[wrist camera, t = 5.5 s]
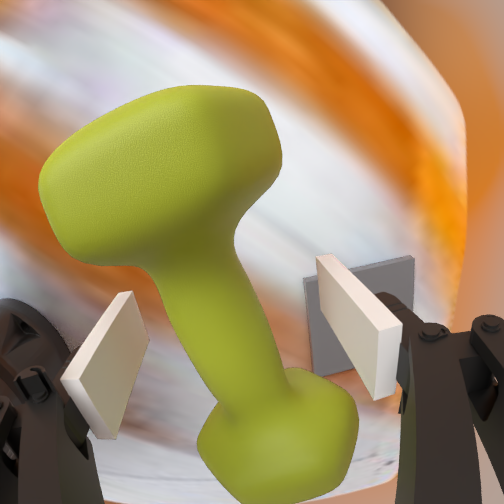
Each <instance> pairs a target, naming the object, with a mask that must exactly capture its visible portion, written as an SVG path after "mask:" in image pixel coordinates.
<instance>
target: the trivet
mask: <svg viewBox="0 0 504 504" xmlns="http://www.w3.org/2000/svg"><path fill="white" fill-rule="evenodd" d="M414 262H415V258H413V257H412V256H410V255H409V256H405V257H400V258H396V259H392V260H387V261H383V262H378V263H374V264H369V265H365V266H360V267H355V268H351V269H348V270H349V271H350V272H351V273H352V274H353V275H354V276H355V277H356V278H357V279H358V280H359V281H360V282H361V283H362V284H364V285H365V286H366V287H367V288H368V289H369V290H370V291H371V292H372V293H373V294H376V293H380V292H387V293H389V294H392V295H394V296H396V297H397V298H398V299H399V300H400V301H401V302H402V303H403V304H405V305H406V306H407V308H409V309H410V310H411V311H413V294H414ZM303 282H304V290H305V299H306V308H307V317H308V327H309V337H310V348H311V358H312V370H313V373H314V374H316V375H319V376H321V377H322V376H326V375H330V374H334V373H338V372H342V371H346V370H349V369H353V368H355V367H354V365H353V363H352V362H351V360H350V358H349V357H348V355H347V353H346V351H345V350H344V348H343V346H342V345H341V343H340V341H339V340H338V338H337V336H336V334H335V333H334V331H333V329H332V328H331V326H330V324H329V323H328V321H327V319H326V318H325V316H324V314H323V313H322V311H321V307H320V296H319V285H318V275H317V276H312V277H307V278H303Z"/></svg>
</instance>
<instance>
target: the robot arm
mask: <svg viewBox="0 0 504 504" xmlns="http://www.w3.org/2000/svg"><path fill="white" fill-rule="evenodd" d="M316 265H317V275H318V285H319V296H320V307H321V311H322V313H323V314H324V316H325V318H326V319H327V321H328V323H329V324H330V326H331V328H332V329H333V331H334V333H335V334H336V336H337V338H338V340H339V341H340V343H341V345H342V346H343V348H344V350H345V351H346V353H347V355H348V357H349V358H350V360H351V362H352V363H353V365H354V367H355V369H356V370H357V372H358V374H359V376H360V377H361V379H362V381H363V383H364V384H365V386H366V388H367V390H368V391H369V393H370V395H371V397H372V398H373V400H374V401H375V400H378V399H381V398H384V397H387V396H389V395H392V394H395V390H396V383H397V381H398V383H399V384H400V386H401V387H402V389H403V390H402V396H401V401H400V407H399V412H398V414H401V435H400V455H399V469H398V481H397V491H396V499H395V504H482V496H481V481H480V471H479V460H478V452H477V446H476V438H475V432H474V426H475V428H476V430H477V432H478V435H479V437H480V439H481V441H482V443H483V445H484V448H485V450H486V452H487V454H488V457H489V459H490V461H491V464H492V466H493V469H494V471H495V473H496V476H497V478H498V481H499V483H500V486H501V489H502V491H503V494H504V320H503V319H502V318H500V317H497V316H495V315H481V316H479V317H477V318H475V319H474V321H473V323H472V328H471V331H467V332H460V333H451V332H450V331H449V329H448V328H446V327H445V326H443V325H440V324H437V323H424V322H423V321H422V320H421V319H420V318H419V317H418V316H417V315H415V314H414V313H413V312H412V311H411V310H410V309H409V308H407V306H406V305H405V304H403V303H402V302H401V301H400V300H399V299H398V298H397V297H396V296H394V295H392V294H389V293H387V292H380V293H376V294H373V293H372V292H371V291H370V290H369V289H368V288H367V287H366V286H365V285H364V284H362V283H361V282H360V281H359V280H358V279H357V278H356V277H355V276H354V275H353V274H352V273H351V272H350V271H349V270H348V269H347V268H346V267H345V266H344V265H343V264H342V263H341V262H340V261H339V260H338V259H337V258H336V257H335V256H333V255H332V254H327V255H322V256H316ZM149 341H150V339H149V337H148V334H147V331H146V328H145V326H144V323H143V320H142V317H141V314H140V311H139V308H138V305H137V302H136V299H135V296H134V293H133V291H127V292H121V293H118V294H117V296H116V297H115V298H114V300H113V301H112V303H111V304H110V305H109V307H108V308H107V310H106V311H105V312H104V314H103V315H102V317H101V318H100V319H99V321H98V322H97V324H96V325H95V327H94V328H93V330H92V331H91V333H90V334H89V335H88V337H87V338H86V340H85V341H84V343H83V344H82V346H79V347H78V348H76V349H75V350H74V351H73V352H72V353H71V354H70V353H69V350H68V348H67V346H66V345H65V343H64V341H63V340H62V338H61V336H60V335H59V334H58V332H57V331H56V330H55V328H54V327H53V326H52V325H51V324H50V323H49V322H48V321H47V320H46V319H45V318H44V317H43V316H42V315H41V314H40V313H39V312H37V311H36V310H35V309H33V308H32V307H30V306H28V305H27V304H25V303H23V302H20V301H18V300H14V299H8V298H7V299H0V504H105V503H104V499H103V495H102V491H101V487H100V483H99V478H98V474H97V469H96V464H95V459H94V453H93V448H92V444H91V441H90V440H89V438H88V437H87V433H88V431H89V428H90V429H91V430H92V432H93V433H94V435H95V436H96V438H97V439H116V437H117V434H118V431H119V428H120V425H121V421H122V418H123V415H124V412H125V409H126V406H127V403H128V400H129V397H130V394H131V391H132V388H133V385H134V382H135V379H136V377H137V374H138V371H139V368H140V365H141V363H142V360H143V357H144V354H145V351H146V349H147V346H148V343H149ZM494 377H495V378H496V379H497V381H498V383H497V381H496V380H495V378H494ZM473 424H474V426H473Z"/></svg>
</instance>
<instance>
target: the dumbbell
mask: <svg viewBox="0 0 504 504" xmlns="http://www.w3.org/2000/svg"><path fill="white" fill-rule="evenodd" d="M281 167H282V150H281V144H280V140H279V137H278V134H277V130H276V128H275V125H274V122H273V120H272V117H271V115H270V112H269V110H268V108H267V106H266V104H265V103H264V101H263V100H262V99H261V98H260V97H259V96H257V95H256V94H254V93H252V92H250V91H247V90H244V89H239V88H233V87H222V86H208V85H187V86H178V87H173V88H167V89H164V90H160V91H157V92H154V93H151V94H148V95H146V96H143V97H140V98H138V99H136V100H133V101H131V102H129V103H127V104H125V105H122V106H120V107H118V108H116V109H114V110H112V111H111V112H109V113H107V114H105V115H103V116H101V117H99V118H98V119H96V120H94V121H93V122H91V123H89V124H88V125H86V126H84V127H83V128H81V129H80V130H78V131H77V132H75V133H74V134H73V135H71V136H70V137H69V138H68V139H67V140H66V141H64V142H63V143H62V144H61V145H60V146H59V147H58V148H56V150H55V151H54V152H53V153H52V154H51V156H50V157H49V158H48V159H47V161H46V162H45V164H44V166H43V168H42V170H41V172H40V175H39V184H38V190H39V195H40V199H41V202H42V205H43V208H44V210H45V213H46V215H47V218H48V220H49V223H50V225H51V227H52V229H53V231H54V234H55V236H56V238H57V239H58V241H59V242H60V244H61V246H62V247H63V249H64V250H65V251H66V252H67V253H68V254H69V255H70V256H71V257H73V258H75V259H77V260H79V261H81V262H84V263H88V264H93V265H98V266H123V265H128V266H136V267H139V268H141V269H143V270H144V271H146V272H147V273H148V274H149V275H150V276H151V278H152V279H153V281H154V283H155V284H156V286H157V289H158V291H159V293H160V296H161V299H162V301H163V304H164V307H165V310H166V312H167V315H168V318H169V320H170V322H171V324H172V326H173V328H174V330H175V332H176V334H177V336H178V338H179V340H180V342H181V344H182V345H183V347H184V349H185V351H186V353H187V354H188V356H189V358H190V360H191V361H192V363H193V365H194V367H195V368H196V370H197V372H198V373H199V375H200V376H201V378H202V380H203V381H204V383H205V384H206V386H207V387H208V389H209V390H210V392H211V393H212V394H213V396H214V397H215V398H216V399H217V400H218V403H217V405H216V406H215V407H214V409H213V410H212V412H211V413H210V415H209V417H208V418H207V420H206V422H205V424H204V425H203V427H202V429H201V431H200V434H199V436H198V439H197V449H198V452H199V454H200V456H201V458H202V460H203V461H204V463H205V464H206V466H207V467H208V468H209V470H210V471H211V472H212V474H213V475H214V476H215V477H216V479H217V480H218V481H219V482H220V483H221V484H222V485H223V487H224V488H225V489H226V490H227V491H228V492H229V493H230V494H231V495H232V496H233V497H234V498H236V499H237V500H238V501H239V502H240V503H242V504H295V503H299V502H303V501H306V500H310V499H313V498H316V497H318V496H321V495H324V494H326V493H328V492H330V491H332V490H334V489H335V488H336V487H338V486H339V485H340V484H341V482H342V481H343V480H344V478H345V476H346V473H347V471H348V468H349V465H350V463H351V459H352V456H353V453H354V449H355V445H356V441H357V436H358V430H359V417H358V412H357V407H356V404H355V401H354V399H353V398H352V396H351V395H350V394H349V393H348V392H347V391H346V390H344V389H343V388H341V387H340V386H338V385H336V384H334V383H333V382H331V381H329V380H327V379H325V378H323V377H321V376H319V375H316V374H314V373H312V372H310V371H307V370H304V369H301V368H294V367H293V368H287V369H284V368H283V365H282V361H281V358H280V355H279V352H278V349H277V346H276V343H275V340H274V337H273V334H272V331H271V328H270V325H269V323H268V320H267V318H266V316H265V313H264V311H263V309H262V306H261V304H260V302H259V300H258V298H257V295H256V293H255V291H254V289H253V287H252V284H251V282H250V280H249V278H248V276H247V274H246V272H245V271H244V269H243V267H242V265H241V263H240V261H239V259H238V257H237V254H236V251H235V247H234V234H235V229H236V227H237V225H238V223H239V221H240V219H241V218H242V217H243V215H244V214H245V213H246V211H247V210H248V209H249V208H250V207H251V206H252V205H253V204H254V203H255V202H256V201H257V200H258V199H259V198H260V197H261V196H262V195H263V194H264V193H265V192H266V191H267V190H268V189H269V188H270V187H271V185H272V184H273V183H274V181H275V180H276V178H277V177H278V175H279V172H280V170H281Z"/></svg>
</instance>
